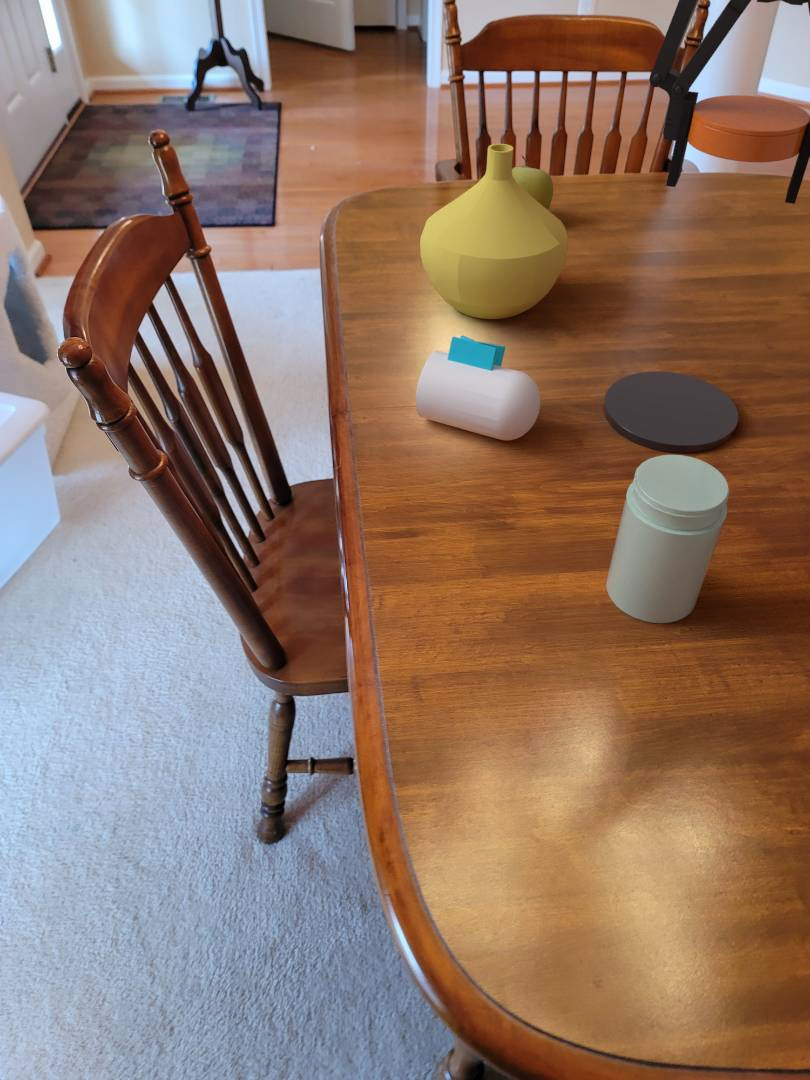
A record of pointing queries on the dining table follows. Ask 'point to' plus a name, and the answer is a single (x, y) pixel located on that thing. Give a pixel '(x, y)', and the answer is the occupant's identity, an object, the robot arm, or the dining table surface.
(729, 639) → the dining table surface
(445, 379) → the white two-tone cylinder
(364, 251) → the dining table surface
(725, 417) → the mat
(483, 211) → the vase
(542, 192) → the apple
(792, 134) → the lid
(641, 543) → the jar
